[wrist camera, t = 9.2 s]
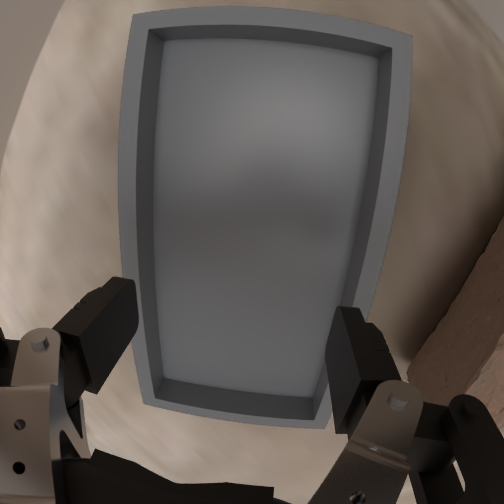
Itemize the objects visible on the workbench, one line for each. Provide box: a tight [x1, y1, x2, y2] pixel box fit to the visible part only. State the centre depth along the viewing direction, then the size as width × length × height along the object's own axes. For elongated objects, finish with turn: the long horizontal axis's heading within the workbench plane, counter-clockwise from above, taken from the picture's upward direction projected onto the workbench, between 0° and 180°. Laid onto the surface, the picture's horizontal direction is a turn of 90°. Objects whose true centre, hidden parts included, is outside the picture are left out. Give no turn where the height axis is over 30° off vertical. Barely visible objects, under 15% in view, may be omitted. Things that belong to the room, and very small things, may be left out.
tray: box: [118, 6, 412, 429], centre depth 16 cm, size 13×24×3 cm, turn 175°
